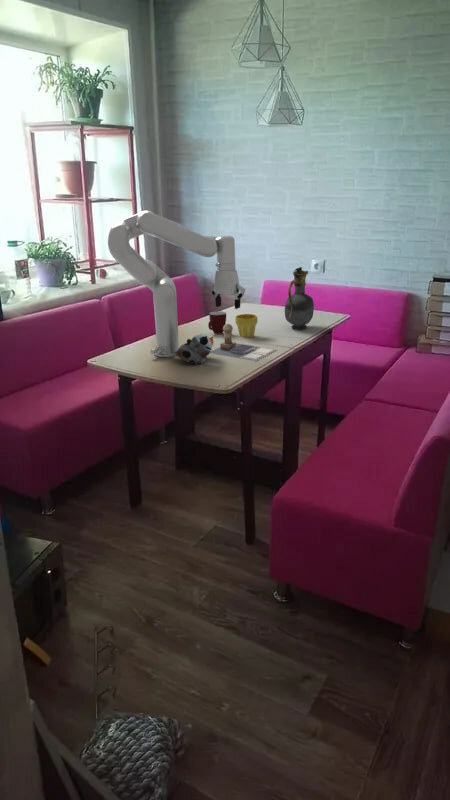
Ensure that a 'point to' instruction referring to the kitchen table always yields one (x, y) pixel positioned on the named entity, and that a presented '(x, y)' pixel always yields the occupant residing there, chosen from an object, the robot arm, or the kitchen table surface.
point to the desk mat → (227, 353)
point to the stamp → (227, 338)
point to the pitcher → (299, 302)
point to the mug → (217, 321)
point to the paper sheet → (257, 353)
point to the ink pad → (242, 349)
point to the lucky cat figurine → (195, 349)
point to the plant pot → (246, 324)
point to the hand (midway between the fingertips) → (228, 307)
